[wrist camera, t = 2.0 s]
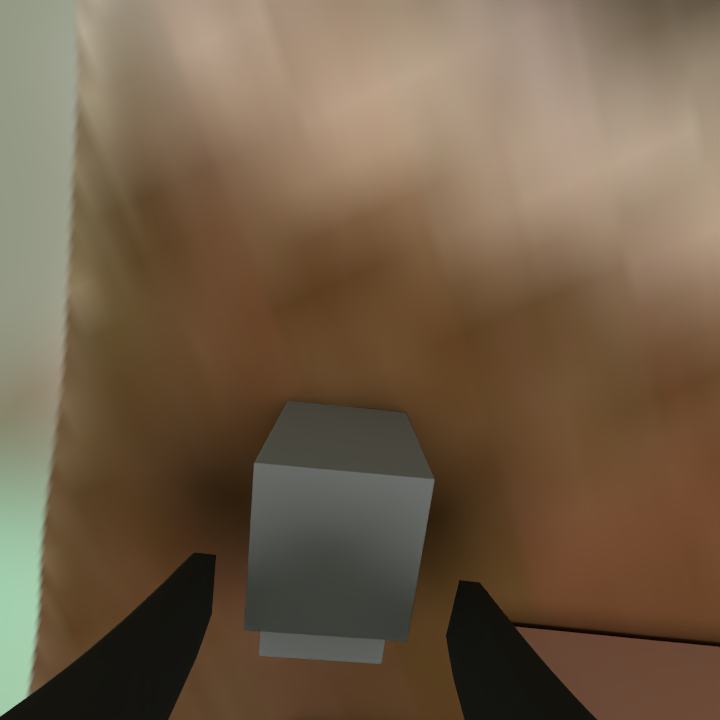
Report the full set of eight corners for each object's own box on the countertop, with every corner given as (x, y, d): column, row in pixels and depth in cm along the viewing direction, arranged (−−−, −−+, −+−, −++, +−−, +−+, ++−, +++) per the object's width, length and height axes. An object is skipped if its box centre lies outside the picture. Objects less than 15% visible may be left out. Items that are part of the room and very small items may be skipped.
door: (738, 648, 16) (906, 806, 11) (729, 669, 16) (889, 833, 12) (493, 624, 16) (558, 780, 11) (487, 647, 16) (548, 809, 11)
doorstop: (376, 604, 16) (388, 749, 11) (273, 597, 16) (237, 741, 11) (405, 410, 14) (434, 479, 9) (288, 398, 14) (254, 462, 9)
